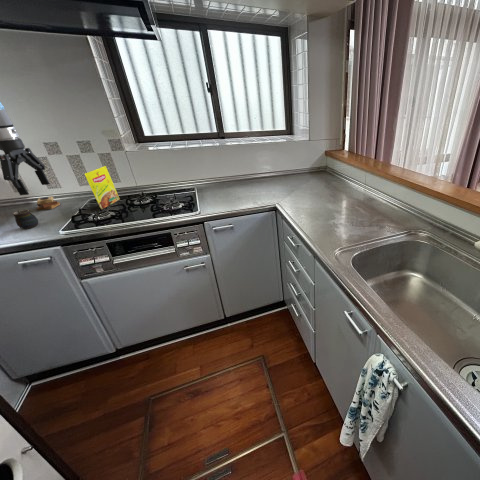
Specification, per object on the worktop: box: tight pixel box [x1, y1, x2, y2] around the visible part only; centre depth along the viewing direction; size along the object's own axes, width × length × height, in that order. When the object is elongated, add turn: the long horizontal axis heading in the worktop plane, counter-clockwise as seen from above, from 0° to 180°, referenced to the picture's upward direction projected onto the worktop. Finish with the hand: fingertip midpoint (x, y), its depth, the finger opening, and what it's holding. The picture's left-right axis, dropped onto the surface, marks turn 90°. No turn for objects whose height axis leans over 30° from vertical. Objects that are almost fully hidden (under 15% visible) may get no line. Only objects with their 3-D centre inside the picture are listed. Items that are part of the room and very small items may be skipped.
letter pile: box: [35, 196, 61, 211], centre depth 149 cm, size 9×9×5 cm
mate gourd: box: [12, 209, 39, 230], centre depth 126 cm, size 7×8×10 cm
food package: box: [84, 165, 121, 210], centre depth 148 cm, size 15×1×20 cm, turn 179°
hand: (35, 189), depth 118 cm, fingers open, 13 cm apart
